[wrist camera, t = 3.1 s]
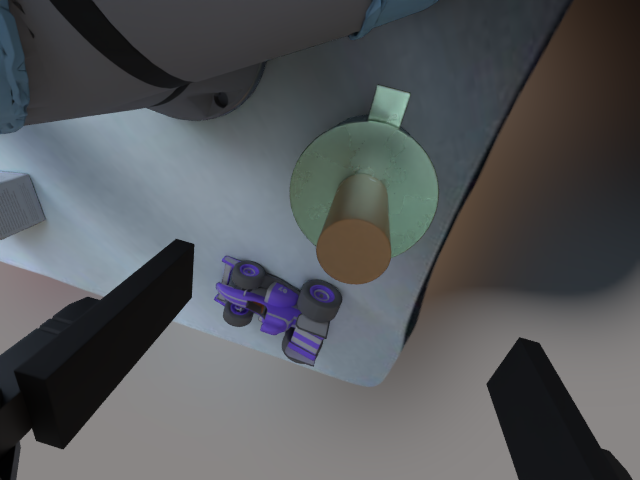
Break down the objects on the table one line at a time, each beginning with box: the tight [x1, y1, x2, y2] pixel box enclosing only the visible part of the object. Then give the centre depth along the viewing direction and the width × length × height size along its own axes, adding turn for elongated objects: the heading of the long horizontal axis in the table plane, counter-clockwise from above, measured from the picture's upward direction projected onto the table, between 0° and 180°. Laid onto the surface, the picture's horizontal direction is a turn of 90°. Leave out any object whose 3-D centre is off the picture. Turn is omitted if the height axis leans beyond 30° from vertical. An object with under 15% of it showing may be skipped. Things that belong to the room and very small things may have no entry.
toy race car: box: [214, 256, 342, 367], centre depth 39 cm, size 10×15×6 cm, turn 72°
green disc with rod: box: [290, 121, 439, 284], centre depth 22 cm, size 11×11×10 cm
